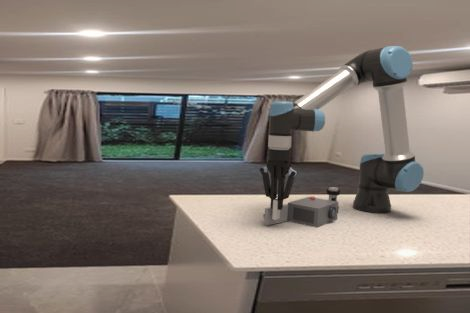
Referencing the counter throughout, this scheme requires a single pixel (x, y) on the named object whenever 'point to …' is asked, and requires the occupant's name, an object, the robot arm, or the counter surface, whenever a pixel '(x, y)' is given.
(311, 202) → the housing
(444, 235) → the counter surface
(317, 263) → the counter surface
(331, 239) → the counter surface
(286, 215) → the door
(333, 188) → the push button
